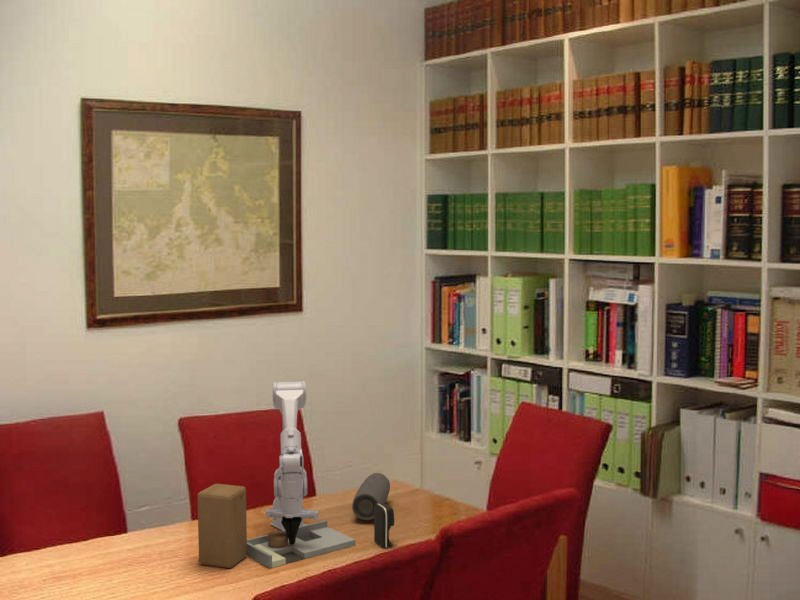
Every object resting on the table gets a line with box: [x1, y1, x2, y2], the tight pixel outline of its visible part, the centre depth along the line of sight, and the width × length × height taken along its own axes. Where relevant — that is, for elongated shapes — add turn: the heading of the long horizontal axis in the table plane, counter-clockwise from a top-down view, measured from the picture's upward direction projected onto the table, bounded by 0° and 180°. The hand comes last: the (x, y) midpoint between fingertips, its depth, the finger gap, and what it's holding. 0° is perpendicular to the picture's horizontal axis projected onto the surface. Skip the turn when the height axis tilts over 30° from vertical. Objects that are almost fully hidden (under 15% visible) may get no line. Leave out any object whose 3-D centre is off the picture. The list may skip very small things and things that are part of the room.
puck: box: [267, 530, 288, 548], centre depth 275 cm, size 6×6×3 cm
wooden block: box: [197, 483, 248, 569], centre depth 267 cm, size 10×10×20 cm
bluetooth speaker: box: [351, 472, 391, 521], centre depth 308 cm, size 23×9×10 cm, turn 172°
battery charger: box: [373, 503, 395, 549], centre depth 280 cm, size 7×4×11 cm, turn 25°
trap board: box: [246, 520, 356, 569], centre depth 277 cm, size 15×28×3 cm, turn 128°
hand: (292, 543), depth 275 cm, fingers closed
